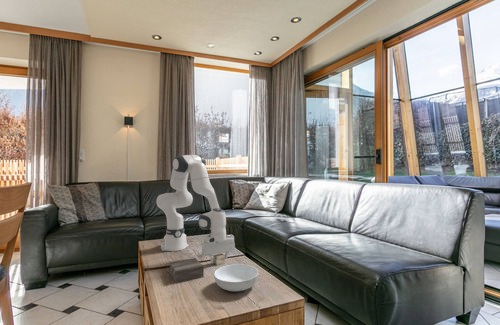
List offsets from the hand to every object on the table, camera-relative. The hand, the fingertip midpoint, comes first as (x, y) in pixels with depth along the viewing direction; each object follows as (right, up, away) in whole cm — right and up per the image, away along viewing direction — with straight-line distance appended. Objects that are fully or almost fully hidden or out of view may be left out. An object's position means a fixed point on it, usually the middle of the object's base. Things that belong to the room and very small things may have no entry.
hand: (218, 260), depth 157 cm
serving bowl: (+12, -1, -31) cm, 33 cm away
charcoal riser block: (-15, -2, -17) cm, 23 cm away
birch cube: (0, -2, 0) cm, 2 cm away
